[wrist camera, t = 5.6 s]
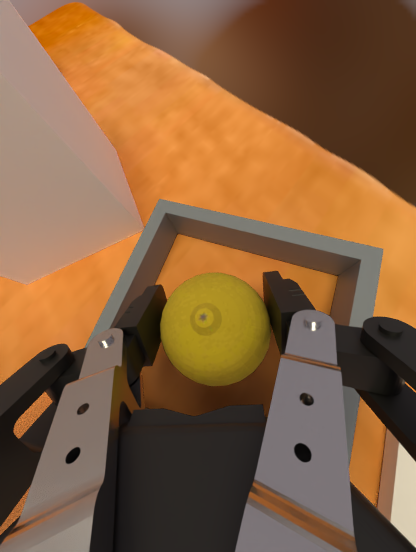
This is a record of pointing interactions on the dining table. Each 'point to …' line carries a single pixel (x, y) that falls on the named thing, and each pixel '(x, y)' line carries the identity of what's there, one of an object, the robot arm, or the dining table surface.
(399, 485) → the board
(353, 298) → the grey square frame
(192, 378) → the lemon
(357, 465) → the dining table surface
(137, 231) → the milk
